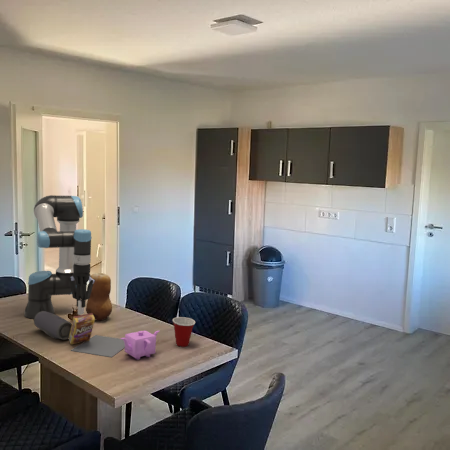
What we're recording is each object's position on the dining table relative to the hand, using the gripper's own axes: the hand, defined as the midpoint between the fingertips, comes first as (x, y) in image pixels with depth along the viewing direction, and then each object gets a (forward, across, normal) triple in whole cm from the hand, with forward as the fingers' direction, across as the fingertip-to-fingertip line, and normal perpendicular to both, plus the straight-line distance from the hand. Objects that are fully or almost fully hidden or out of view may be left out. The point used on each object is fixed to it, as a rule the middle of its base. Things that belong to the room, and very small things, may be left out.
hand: (80, 313), depth 230 cm
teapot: (+14, +32, -4) cm, 35 cm away
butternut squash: (+14, -10, +34) cm, 38 cm away
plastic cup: (+14, +45, +16) cm, 50 cm away
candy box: (+13, 0, 0) cm, 13 cm away
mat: (+14, +12, 0) cm, 18 cm away
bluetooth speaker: (+14, -16, +3) cm, 21 cm away
